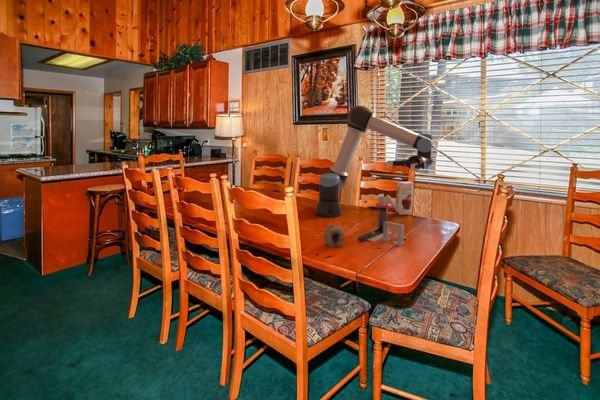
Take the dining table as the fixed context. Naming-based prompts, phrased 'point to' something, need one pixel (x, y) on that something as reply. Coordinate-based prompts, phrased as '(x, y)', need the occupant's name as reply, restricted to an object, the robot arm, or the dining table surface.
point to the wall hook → (388, 198)
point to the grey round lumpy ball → (334, 236)
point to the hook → (381, 219)
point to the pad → (376, 237)
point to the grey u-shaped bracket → (399, 232)
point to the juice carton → (404, 198)
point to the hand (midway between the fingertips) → (398, 165)
